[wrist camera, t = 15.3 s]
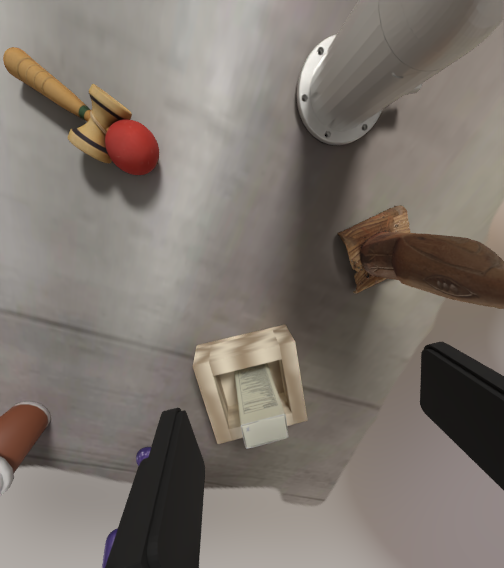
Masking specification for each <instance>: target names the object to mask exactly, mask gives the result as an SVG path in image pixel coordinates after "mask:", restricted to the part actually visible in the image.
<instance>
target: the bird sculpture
mask: <svg viewBox="0 0 504 568" xmlns="http://www.w3.org/2000/svg"><path fill="white" fill-rule="evenodd" d="M399 221H400V222H399ZM404 221H405V222H404ZM407 221H408V216H407V210H406V209H405V208H404V207H403V206H401V205H400V206H394V208H389V210H388V209H387V211H383V212H382V213H379V214H378V215H376V216H373V217H372V218H369V219H367V220H365V221H363V222H360V223H359V224H357V225H354V226H353V227H351V228H349V229H346V230H344V231H343V232H339V233H337V234H338V235H339V236H340V237H341V239H342V241H343V242H344V244H345V245H346V249H347V250H348V256H349V260H350V264H351V265H352V266H353V265H354V263H352V261H351V260H353V262H355V261H356V263H355V266H357V267H360V265H361V267H360V269H358V268H357V267H356V268H355V266H353V267H352V270H354V269H355V271H356V275H355V276H354V277H355V282H356V285H357V287H356V290H355V291H353V292H354V293H355V294H356V293H359V292H361V291H363V290H365V289H367V288H369V287H371V286H373V285H375V284H377V283H380V282H382V281H384V280H386V279H396V280H399V281H401V283H403V284H405V285H408V286H411V287H415V288H418V289H421V290H424V291H427V292H430V293H433V294H436V295H439V296H443V297H446V298H449V299H453V300H458V301H463V302H468V303H473V304H477V305H483V306H489V307H495V308H499V309H504V261H503V260H502V259H501V258H500V257H499V256H497V254H496V253H495V252H493V251H492V250H491V249H489V248H488V247H486V246H485V245H484V244H482V243H480V242H478V241H474V240H471V239H468V238H461V237H453V236H443V235H431V234H416V233H410V229H409V228H408V227H409V222H407ZM403 222H404V223H403ZM398 223H399V224H398ZM396 226H397V227H396ZM385 230H386V231H387V232H384V231H385ZM396 230H397V232H396ZM389 231H390V232H389ZM377 232H378V234H377ZM379 232H380V233H379ZM370 237H371V238H370ZM365 240H367V241H365ZM361 245H362V247H361ZM357 262H358V263H357ZM362 265H363V266H362ZM361 268H362V269H363V270H361ZM359 270H360V271H359ZM357 272H358V273H357ZM368 273H369V274H370V275H368ZM364 275H365V276H364Z"/></svg>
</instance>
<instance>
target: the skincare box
mask: <svg viewBox="0 0 504 568" xmlns="http://www.w3.org/2000/svg"><path fill="white" fill-rule="evenodd" d="M234 373H235V382H236V390H237V398H238V407H239V415H240V424H241V430H242V435H243V439H244V443H245V447H246V448H247V449H248V448H252V447H256V446H260V445H264V444H268V443H271V442H275V441H278V440H282V439H285V438H288V429H287V420H286V415H285V412H284V409H283V406H282V403H281V401H280V398H279V395H278V392H277V389H276V386H275V383H274V381H273V378H272V375H271V372H270V369H269V366H268V364H267V363H264V364H260V365H256V366H252V367H248V368H244V369H240V370H236V371H234Z"/></svg>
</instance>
